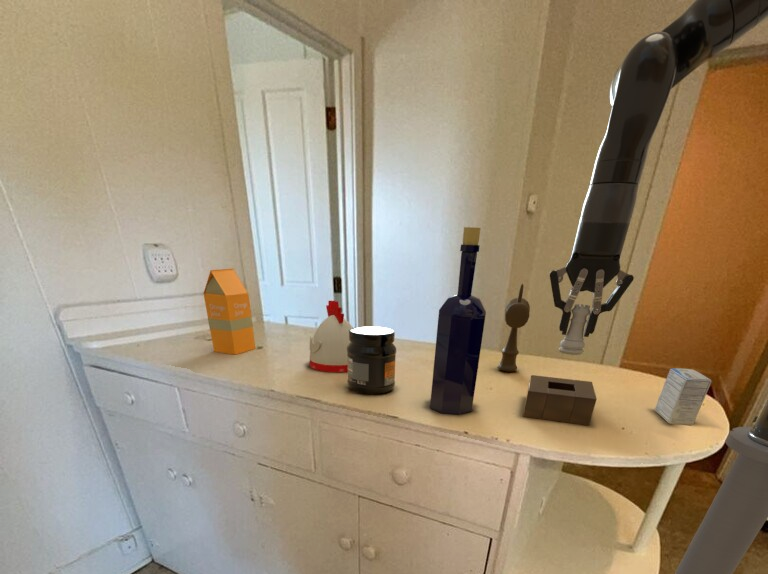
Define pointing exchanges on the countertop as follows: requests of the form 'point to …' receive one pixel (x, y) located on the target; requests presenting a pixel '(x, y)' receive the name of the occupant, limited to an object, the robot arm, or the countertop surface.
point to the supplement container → (371, 360)
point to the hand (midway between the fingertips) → (575, 334)
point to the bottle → (459, 338)
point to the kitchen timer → (331, 342)
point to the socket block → (560, 400)
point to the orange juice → (228, 312)
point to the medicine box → (682, 396)
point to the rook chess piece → (575, 331)
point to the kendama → (514, 330)
